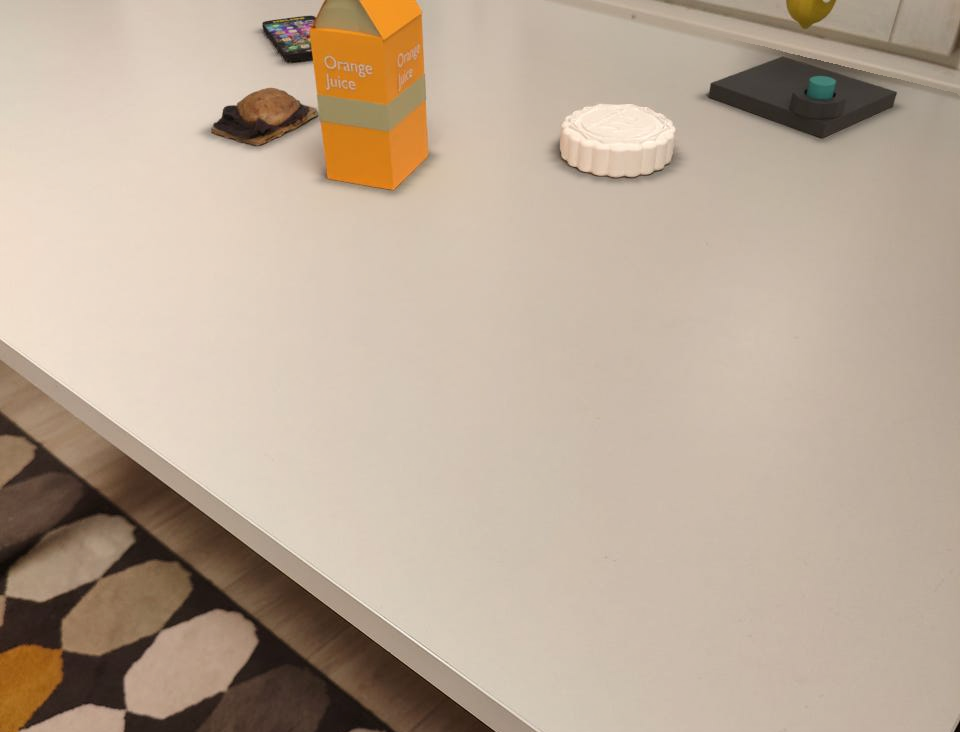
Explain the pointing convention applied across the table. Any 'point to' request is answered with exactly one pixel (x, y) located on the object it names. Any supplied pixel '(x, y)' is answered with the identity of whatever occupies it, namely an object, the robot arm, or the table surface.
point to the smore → (262, 117)
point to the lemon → (809, 11)
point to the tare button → (821, 87)
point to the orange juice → (370, 89)
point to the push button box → (801, 96)
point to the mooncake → (617, 140)
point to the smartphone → (291, 36)
